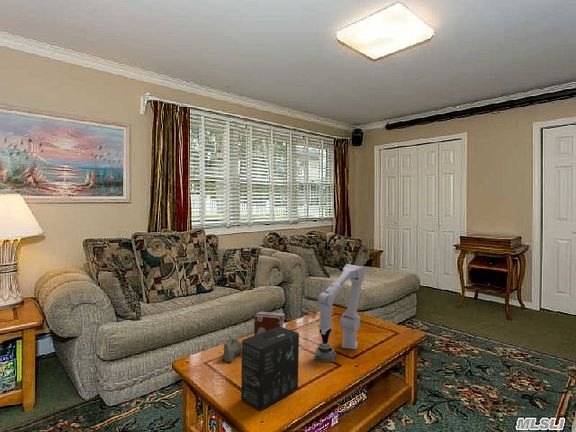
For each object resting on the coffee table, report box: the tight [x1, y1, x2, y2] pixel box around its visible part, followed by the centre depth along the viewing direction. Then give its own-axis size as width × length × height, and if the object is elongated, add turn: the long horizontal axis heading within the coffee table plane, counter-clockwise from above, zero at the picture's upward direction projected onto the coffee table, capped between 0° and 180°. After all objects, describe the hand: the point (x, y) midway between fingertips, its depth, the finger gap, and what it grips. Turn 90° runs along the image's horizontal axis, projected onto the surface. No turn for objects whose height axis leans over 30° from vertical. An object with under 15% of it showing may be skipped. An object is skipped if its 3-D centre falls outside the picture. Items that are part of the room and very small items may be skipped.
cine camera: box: [253, 311, 288, 336], centre depth 181 cm, size 9×19×20 cm, turn 78°
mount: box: [313, 345, 337, 363], centre depth 176 cm, size 10×10×4 cm
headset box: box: [240, 326, 300, 411], centre depth 142 cm, size 22×12×26 cm, turn 139°
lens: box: [318, 342, 331, 352], centre depth 176 cm, size 5×5×5 cm
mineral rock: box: [222, 337, 242, 363], centre depth 175 cm, size 13×11×10 cm
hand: (325, 343), depth 176 cm, fingers closed
